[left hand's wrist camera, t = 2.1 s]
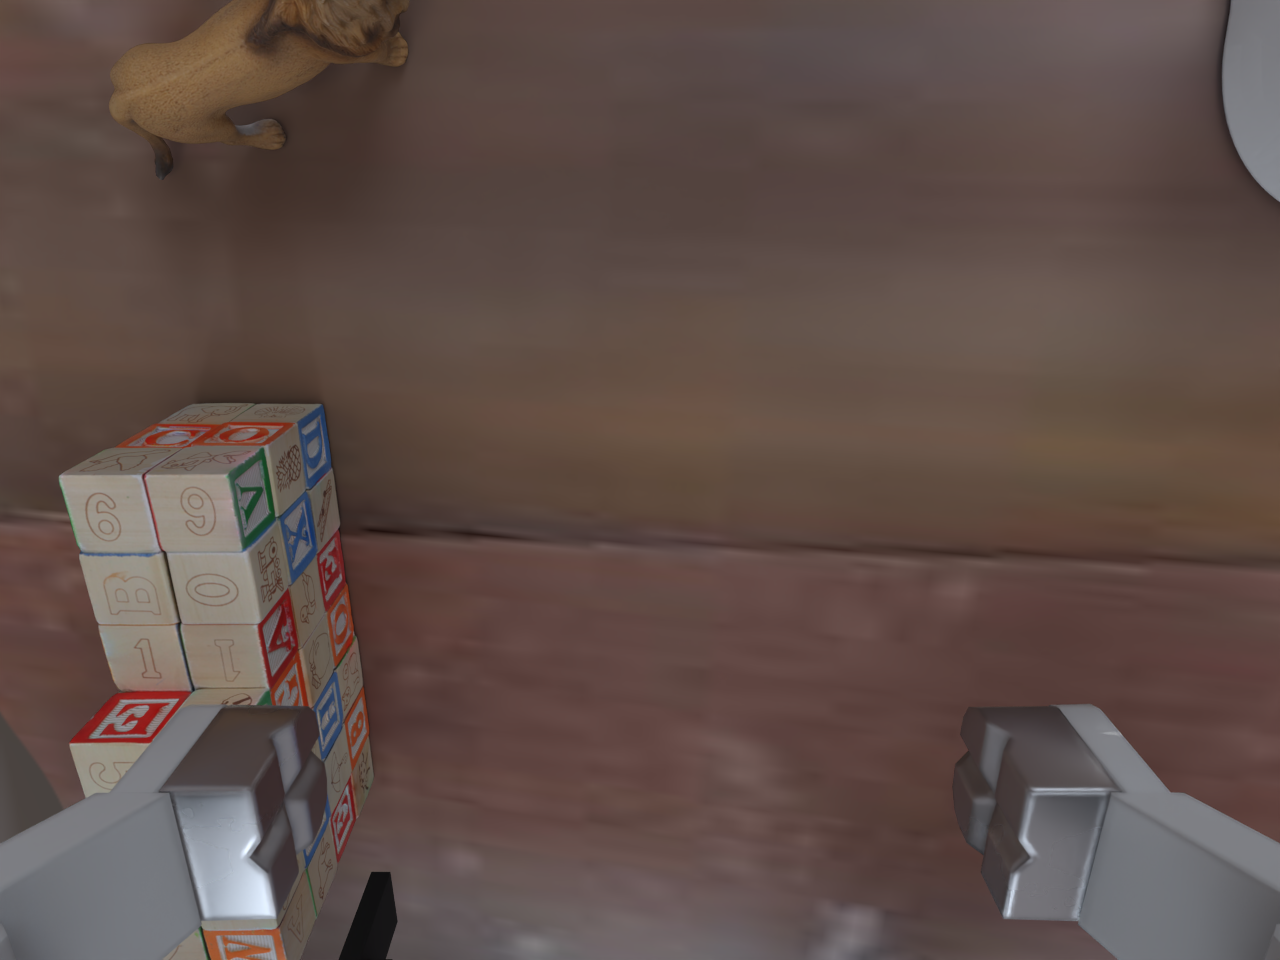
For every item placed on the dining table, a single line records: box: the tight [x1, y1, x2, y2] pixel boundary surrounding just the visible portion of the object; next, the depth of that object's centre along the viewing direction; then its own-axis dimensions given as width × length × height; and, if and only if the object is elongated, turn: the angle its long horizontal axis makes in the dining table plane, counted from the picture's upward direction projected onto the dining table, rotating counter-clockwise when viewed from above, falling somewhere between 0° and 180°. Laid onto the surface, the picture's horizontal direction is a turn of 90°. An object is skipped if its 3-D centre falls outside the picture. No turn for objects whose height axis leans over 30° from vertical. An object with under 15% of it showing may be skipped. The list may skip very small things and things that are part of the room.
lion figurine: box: [109, 0, 409, 180], centre depth 29 cm, size 15×5×9 cm, turn 126°
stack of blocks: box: [59, 403, 374, 960], centre depth 36 cm, size 21×6×12 cm, turn 0°
